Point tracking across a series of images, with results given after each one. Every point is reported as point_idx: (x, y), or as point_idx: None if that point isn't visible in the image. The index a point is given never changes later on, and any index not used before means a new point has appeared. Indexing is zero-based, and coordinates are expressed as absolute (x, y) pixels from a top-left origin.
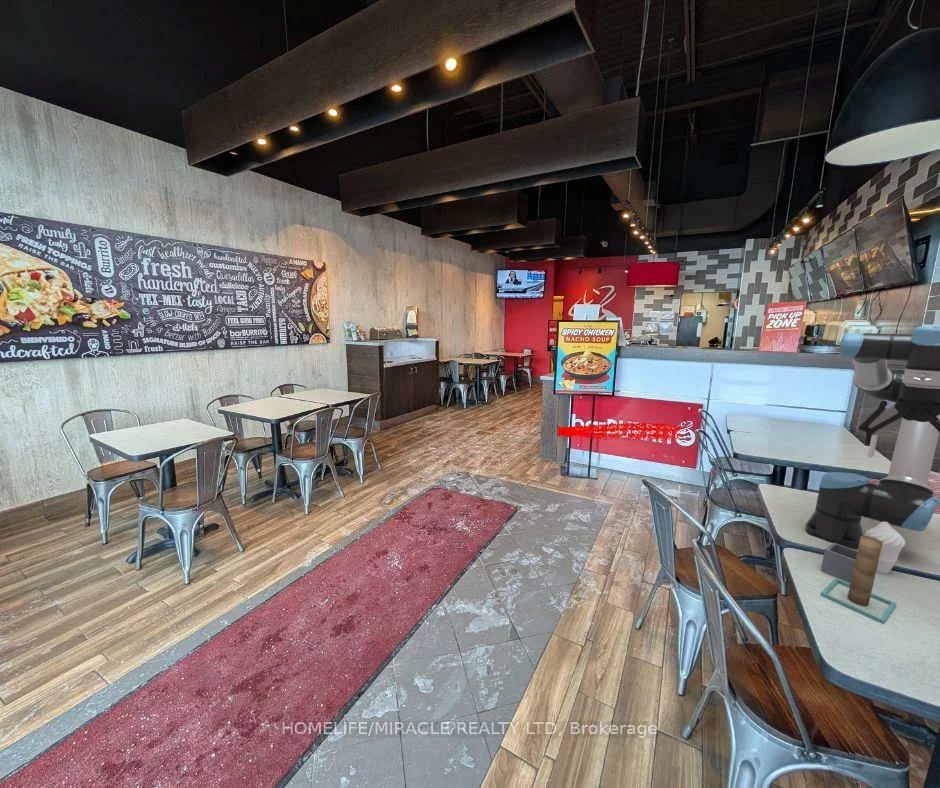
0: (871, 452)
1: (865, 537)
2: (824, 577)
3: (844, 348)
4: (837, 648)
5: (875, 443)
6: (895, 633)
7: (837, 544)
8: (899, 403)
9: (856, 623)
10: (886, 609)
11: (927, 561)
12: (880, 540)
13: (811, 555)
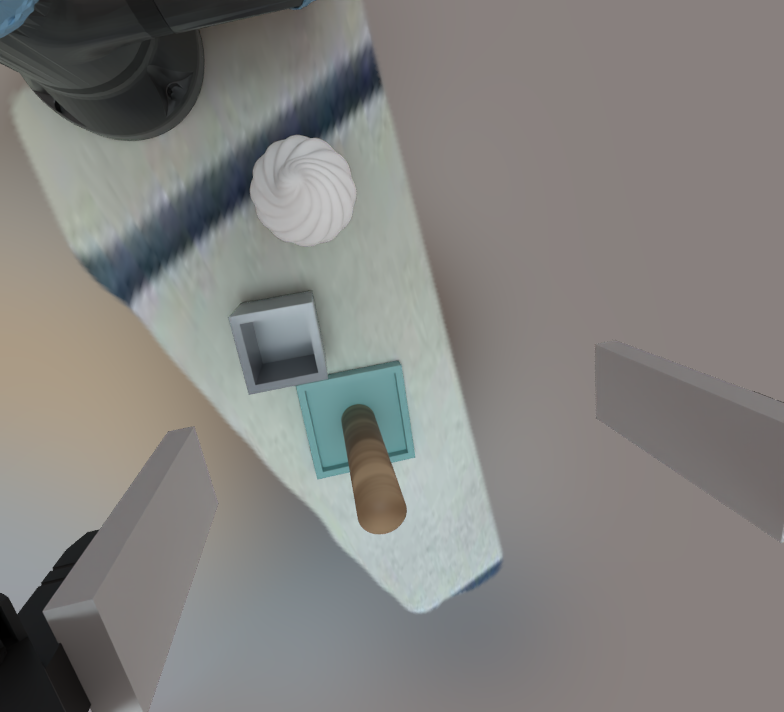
0: (204, 535)
1: (368, 516)
2: None
3: None
4: (402, 572)
5: (164, 541)
6: (428, 445)
7: (241, 322)
8: None
9: None
10: (401, 411)
11: None
12: (312, 245)
13: (186, 286)
